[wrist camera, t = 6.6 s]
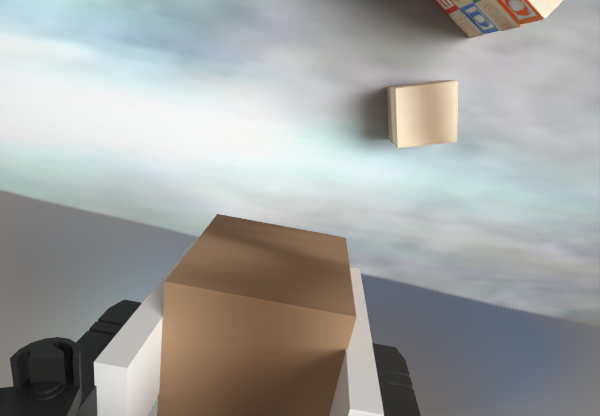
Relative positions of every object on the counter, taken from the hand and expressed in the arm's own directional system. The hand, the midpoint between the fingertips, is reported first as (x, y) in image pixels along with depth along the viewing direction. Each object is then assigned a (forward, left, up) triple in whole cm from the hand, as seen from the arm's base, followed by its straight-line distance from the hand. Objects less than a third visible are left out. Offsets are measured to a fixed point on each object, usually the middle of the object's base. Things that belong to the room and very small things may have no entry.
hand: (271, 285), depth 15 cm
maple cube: (+10, +6, -25) cm, 28 cm away
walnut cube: (0, 0, 0) cm, 0 cm away
